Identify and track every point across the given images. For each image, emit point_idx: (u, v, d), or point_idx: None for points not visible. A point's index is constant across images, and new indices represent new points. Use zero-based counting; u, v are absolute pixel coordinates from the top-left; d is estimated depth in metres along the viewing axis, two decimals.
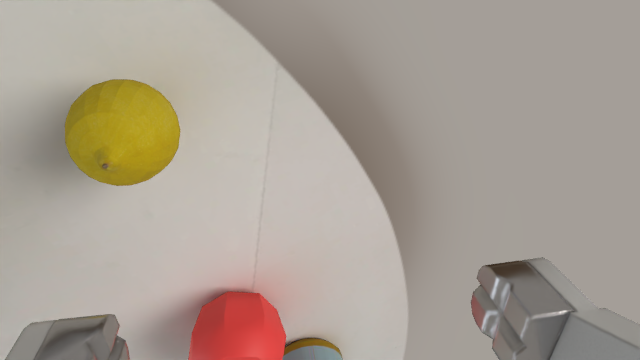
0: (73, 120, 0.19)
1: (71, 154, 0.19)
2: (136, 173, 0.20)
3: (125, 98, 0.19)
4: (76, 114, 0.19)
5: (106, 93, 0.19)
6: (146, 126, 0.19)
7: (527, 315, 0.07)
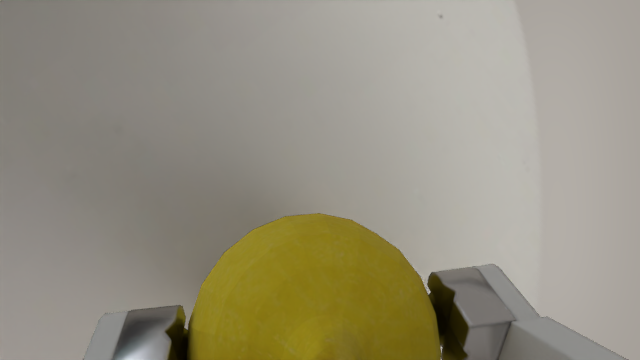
0: (367, 237, 0.08)
1: (285, 246, 0.07)
2: None
3: (438, 335, 0.08)
4: (379, 242, 0.08)
5: (425, 290, 0.08)
6: None
7: (467, 324, 0.07)
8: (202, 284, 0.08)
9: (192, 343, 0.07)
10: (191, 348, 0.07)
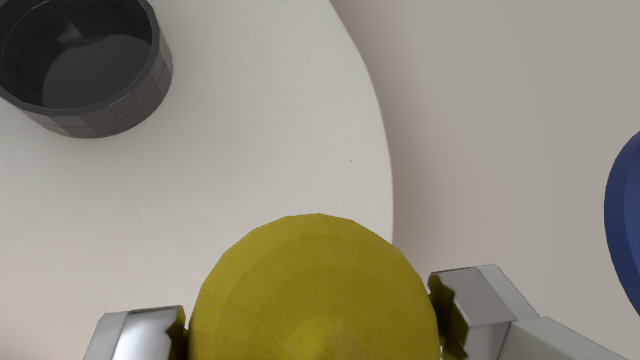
0: (367, 237, 0.08)
1: (285, 246, 0.07)
2: None
3: (438, 335, 0.08)
4: (379, 242, 0.08)
5: (425, 290, 0.08)
6: None
7: (467, 324, 0.07)
8: (202, 284, 0.08)
9: (192, 343, 0.07)
10: (191, 348, 0.07)
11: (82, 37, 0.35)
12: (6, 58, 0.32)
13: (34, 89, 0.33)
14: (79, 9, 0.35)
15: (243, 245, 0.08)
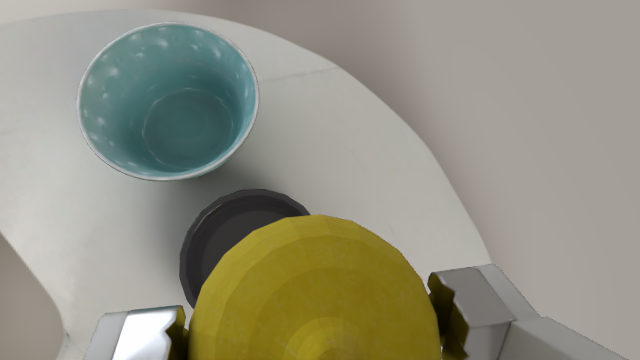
0: (368, 239, 0.08)
1: (285, 247, 0.07)
2: None
3: None
4: (379, 243, 0.08)
5: (426, 291, 0.08)
6: None
7: (467, 324, 0.07)
8: None
9: (192, 345, 0.07)
10: (191, 350, 0.07)
11: (245, 234, 0.40)
12: (191, 268, 0.37)
13: None
14: (239, 206, 0.40)
15: (243, 246, 0.08)
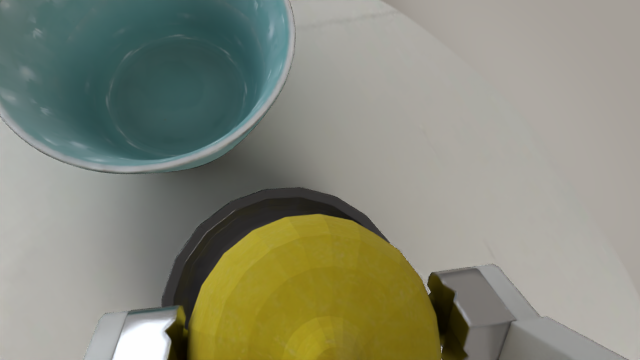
0: (367, 238, 0.08)
1: (285, 247, 0.07)
2: None
3: None
4: (380, 243, 0.08)
5: (425, 290, 0.08)
6: None
7: (467, 324, 0.07)
8: (202, 285, 0.08)
9: (192, 344, 0.07)
10: (191, 349, 0.07)
11: None
12: None
13: None
14: (258, 215, 0.26)
15: (243, 246, 0.08)
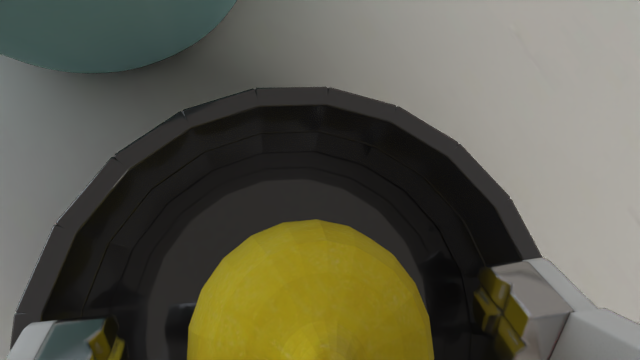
0: (363, 244, 0.08)
1: (282, 253, 0.07)
2: None
3: None
4: (374, 249, 0.08)
5: (419, 295, 0.09)
6: None
7: (527, 315, 0.07)
8: (202, 289, 0.09)
9: (192, 347, 0.08)
10: (191, 352, 0.08)
11: None
12: None
13: None
14: (246, 158, 0.14)
15: (241, 251, 0.08)
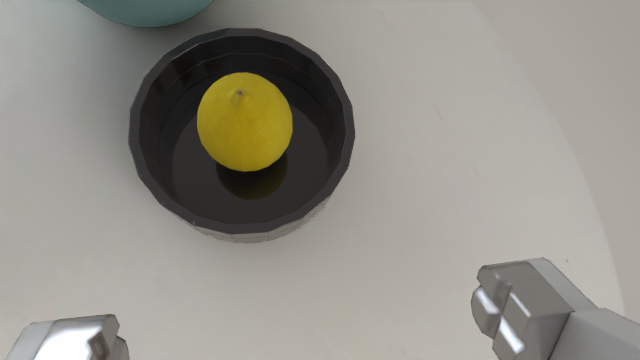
0: (261, 77, 0.22)
1: (230, 75, 0.21)
2: (227, 124, 0.20)
3: (288, 114, 0.22)
4: None
5: (286, 101, 0.22)
6: (273, 129, 0.21)
7: (527, 315, 0.07)
8: None
9: (199, 110, 0.21)
10: (198, 112, 0.21)
11: None
12: (151, 143, 0.25)
13: (182, 180, 0.26)
14: (224, 71, 0.28)
15: None
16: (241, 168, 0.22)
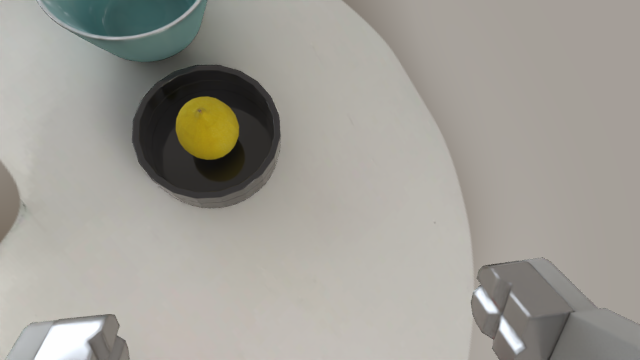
0: (216, 99, 0.34)
1: (196, 98, 0.34)
2: (192, 129, 0.33)
3: (233, 122, 0.35)
4: (219, 100, 0.34)
5: (233, 114, 0.35)
6: (222, 132, 0.33)
7: (527, 316, 0.07)
8: None
9: (176, 120, 0.34)
10: (176, 121, 0.34)
11: None
12: (147, 141, 0.37)
13: (168, 166, 0.38)
14: (198, 92, 0.41)
15: None
16: (204, 157, 0.35)
